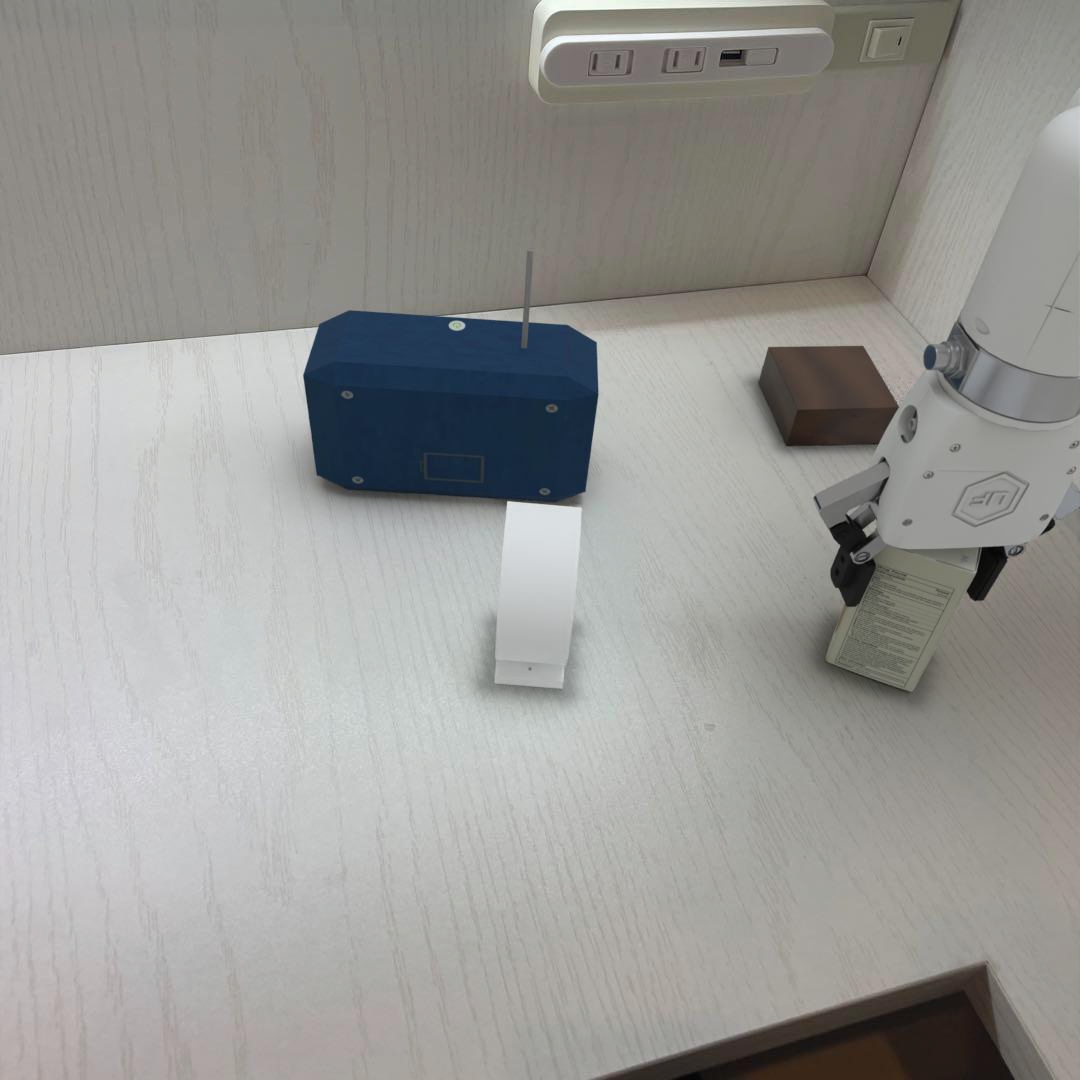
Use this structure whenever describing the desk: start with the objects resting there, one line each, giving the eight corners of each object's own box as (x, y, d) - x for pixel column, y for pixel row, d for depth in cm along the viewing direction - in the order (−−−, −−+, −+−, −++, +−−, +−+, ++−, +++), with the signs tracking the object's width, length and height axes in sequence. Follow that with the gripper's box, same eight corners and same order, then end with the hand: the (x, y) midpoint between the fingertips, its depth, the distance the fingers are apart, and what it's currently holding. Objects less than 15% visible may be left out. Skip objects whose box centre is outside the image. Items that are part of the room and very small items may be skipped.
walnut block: (850, 381, 91) (863, 345, 88) (884, 443, 85) (900, 407, 82) (758, 382, 90) (768, 346, 87) (785, 446, 83) (797, 409, 81)
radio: (582, 440, 82) (610, 221, 68) (583, 512, 76) (614, 288, 62) (335, 424, 82) (310, 200, 67) (316, 496, 75) (284, 266, 61)
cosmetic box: (922, 650, 69) (991, 529, 60) (912, 696, 66) (982, 575, 57) (833, 617, 70) (887, 495, 61) (819, 660, 67) (874, 538, 59)
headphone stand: (565, 630, 68) (582, 507, 59) (562, 702, 64) (579, 581, 55) (499, 624, 68) (507, 500, 59) (492, 696, 64) (498, 574, 55)
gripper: (887, 413, 46) (794, 640, 59) (1215, 406, 49) (1058, 626, 61) (836, 324, 52) (761, 550, 64) (1135, 321, 54) (1005, 540, 66)
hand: (906, 586), depth 63 cm, fingers open, 7 cm apart
